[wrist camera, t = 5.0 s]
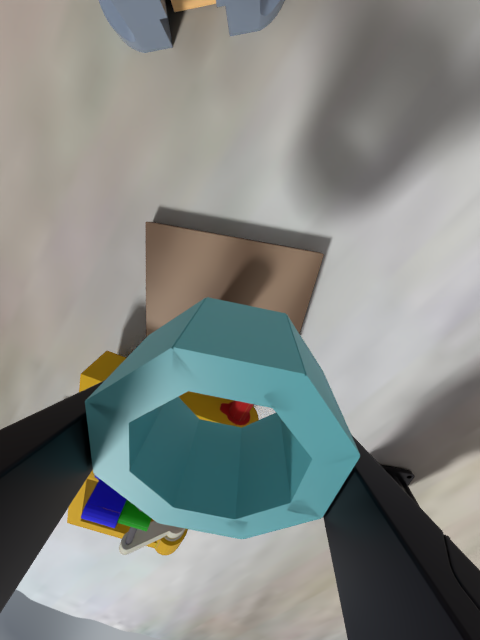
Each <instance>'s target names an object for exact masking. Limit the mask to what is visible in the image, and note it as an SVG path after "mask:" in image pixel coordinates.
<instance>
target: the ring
mask: <svg viewBox="0 0 480 640" xmlns="http://www.w3.org/2000/svg"><path fill="white" fill-rule="evenodd" d="M188 391H190V392H195V393H200V394H205V395H210V396H215V397H220V398H225V399H230V400H235V401H240V402H245V403H250V404H255V405H260V406H265V407H270V408H273V409H274V410H275V412H276V413H274V414H272V415H270V416H268V417H265V418H263V419H261V420H258V421H256V422H254V423H251V424H249V425H247V426H244V427H242V428H241V427H236V426H231V425H226V424H221V423H216V422H211V421H206V420H201V419H199V418H198V417H197V416H196V415H195V414H194V413H193V412H192V411H191V410H190V409H189V408H188V407H187V405H186V404H185V403H184V402H183V401H182V400H181V399H180V398H179V397H178V396H180V395H182V394H184V393H186V392H188ZM85 407H86V415H87V424H88V432H89V441H90V449H91V458H92V466H93V473H95V474H94V475H96V476H97V477H98V478H100V479H101V480H102V481H103V482H105V483H106V484H107V485H109V486H110V487H111V488H113V489H114V490H115V491H117V492H118V493H119V494H120V495H122V496H123V497H124V498H126V499H127V500H128V501H130V502H131V503H132V504H134V505H135V506H136V507H137V508H139V509H140V510H141V511H143V512H144V513H145V514H147V515H148V516H149V517H151V518H152V519H153V520H154V521H156V522H157V523H159V524H164V525H170V526H175V527H180V528H185V529H191V530H196V531H201V532H206V533H211V534H217V535H222V536H227V537H232V538H237V539H246V538H250V537H253V536H257V535H261V534H265V533H268V532H272V531H276V530H280V529H283V528H287V527H291V526H295V525H298V524H302V523H306V522H309V521H313V520H317V519H321V518H322V517H323V516H324V514H325V512H326V511H327V509H328V508H329V506H330V504H331V503H332V501H333V500H334V498H335V496H336V495H337V493H338V492H339V490H340V488H341V487H342V485H343V484H344V482H345V480H346V479H347V477H348V476H349V474H350V472H351V471H352V469H353V467H354V466H355V464H356V463H357V461H358V459H359V458H360V453H359V451H358V449H357V446H356V444H355V442H354V440H353V437H352V435H351V433H350V431H349V429H348V426H347V424H346V422H345V420H344V417H343V415H342V413H341V411H340V408H339V406H338V404H337V402H336V399H335V397H334V395H333V393H332V391H331V388H330V386H329V384H328V382H327V379H326V377H325V375H324V373H323V370H322V369H321V367H320V366H319V364H318V363H317V361H316V359H315V358H314V356H313V355H312V353H311V352H310V350H309V348H308V347H307V345H306V344H305V342H304V341H303V339H302V337H301V336H300V334H299V333H298V331H297V329H296V328H295V326H294V325H293V323H292V322H291V320H290V318H289V317H288V315H287V314H286V313H281V312H277V311H272V310H267V309H262V308H257V307H252V306H248V305H243V304H238V303H233V302H228V301H223V300H219V299H214V298H209V297H207V298H204V299H203V300H201V301H200V302H198V303H197V304H195V305H194V306H192V307H191V308H189V309H188V310H186V311H185V312H183V313H181V314H180V315H178V316H177V317H175V318H174V319H172V320H171V321H169V322H168V323H166V324H165V325H163V326H162V327H160V328H159V329H157V330H156V331H154V332H153V333H151V334H150V335H148V336H147V337H146V338H145V339H144V340H143V342H142V343H141V344H140V345H139V346H138V347H137V348H136V349H135V350H134V351H133V352H132V353H131V354H130V355H129V356H128V357H127V358H126V359H125V360H124V361H123V362H122V363H121V364H120V365H119V366H118V367H117V368H116V369H115V370H114V372H113V373H112V374H111V375H110V376H109V377H108V378H107V379H106V380H105V381H104V382H103V383H102V384H101V385H100V386H99V387H98V388H97V389H96V390H95V391H94V392H93V393H92V394H91V395H90V396H89V397H88V398H87V399H86V401H85Z"/></svg>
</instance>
